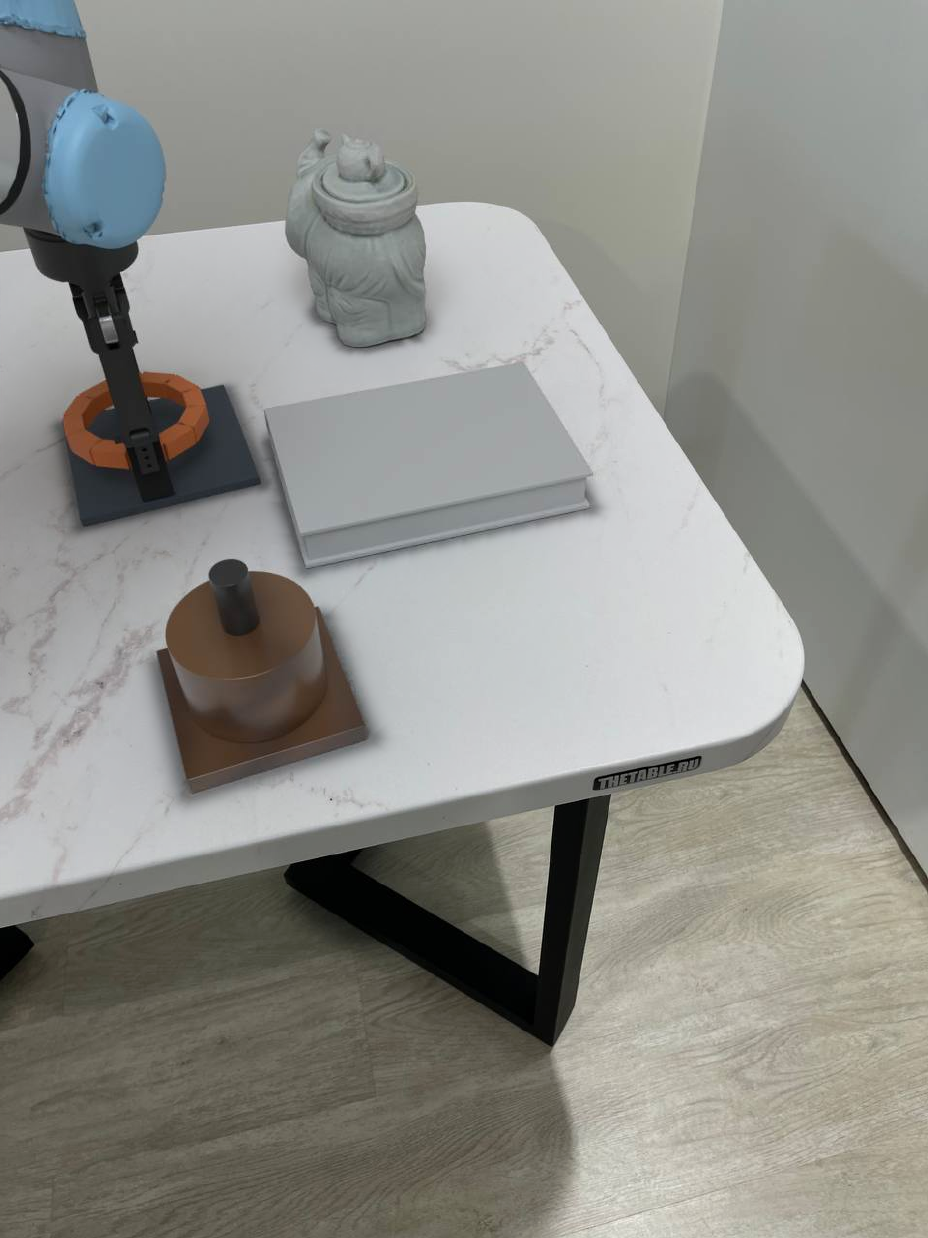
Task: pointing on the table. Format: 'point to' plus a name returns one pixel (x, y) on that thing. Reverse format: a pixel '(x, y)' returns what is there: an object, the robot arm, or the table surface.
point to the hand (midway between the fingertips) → (146, 453)
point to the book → (423, 462)
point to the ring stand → (252, 677)
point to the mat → (167, 462)
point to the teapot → (359, 240)
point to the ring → (154, 386)
